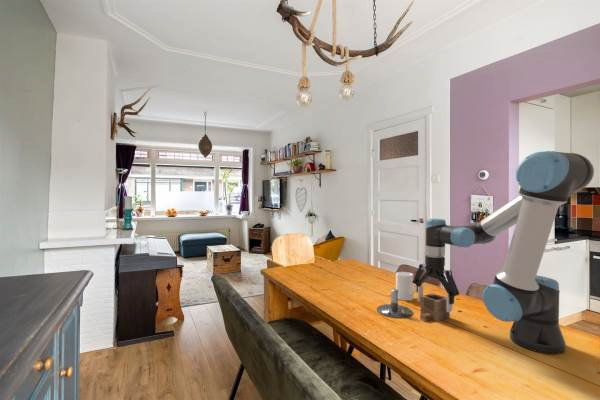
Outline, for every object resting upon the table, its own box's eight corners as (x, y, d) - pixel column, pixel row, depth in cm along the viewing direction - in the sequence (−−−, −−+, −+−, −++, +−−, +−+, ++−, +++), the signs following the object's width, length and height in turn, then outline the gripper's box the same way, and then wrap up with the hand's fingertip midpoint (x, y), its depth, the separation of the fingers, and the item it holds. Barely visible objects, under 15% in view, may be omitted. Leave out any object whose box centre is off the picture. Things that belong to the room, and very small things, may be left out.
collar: (432, 311, 135) (432, 293, 135) (449, 317, 128) (449, 298, 128) (414, 317, 128) (414, 298, 128) (431, 323, 122) (431, 303, 122)
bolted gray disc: (375, 304, 144) (375, 284, 143) (408, 305, 141) (408, 285, 141) (378, 316, 129) (378, 294, 129) (416, 318, 127) (416, 296, 126)
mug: (421, 301, 147) (421, 276, 147) (406, 303, 144) (406, 278, 144) (406, 294, 158) (406, 271, 158) (391, 295, 156) (391, 272, 155)
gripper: (469, 260, 120) (468, 314, 121) (415, 249, 141) (415, 295, 142) (458, 262, 116) (457, 318, 117) (404, 251, 138) (404, 298, 138)
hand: (434, 305), depth 130 cm, fingers open, 13 cm apart
